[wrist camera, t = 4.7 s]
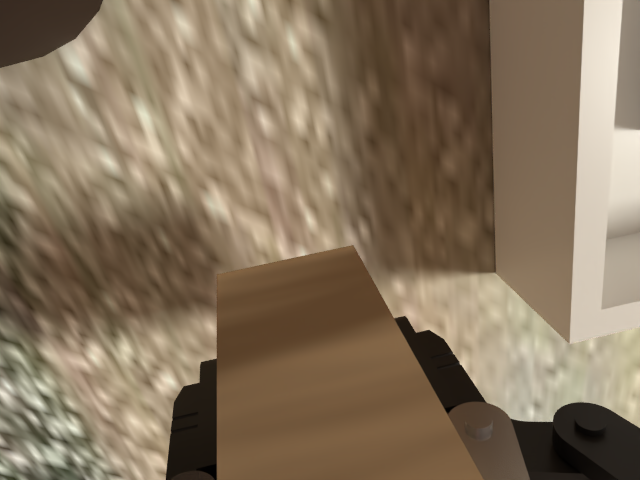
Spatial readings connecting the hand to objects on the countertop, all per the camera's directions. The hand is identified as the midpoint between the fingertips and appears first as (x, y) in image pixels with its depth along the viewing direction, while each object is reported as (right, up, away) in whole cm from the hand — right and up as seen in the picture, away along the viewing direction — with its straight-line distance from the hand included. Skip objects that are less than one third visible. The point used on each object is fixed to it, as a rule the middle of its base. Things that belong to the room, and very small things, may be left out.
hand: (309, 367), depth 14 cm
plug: (0, +1, +2) cm, 3 cm away
